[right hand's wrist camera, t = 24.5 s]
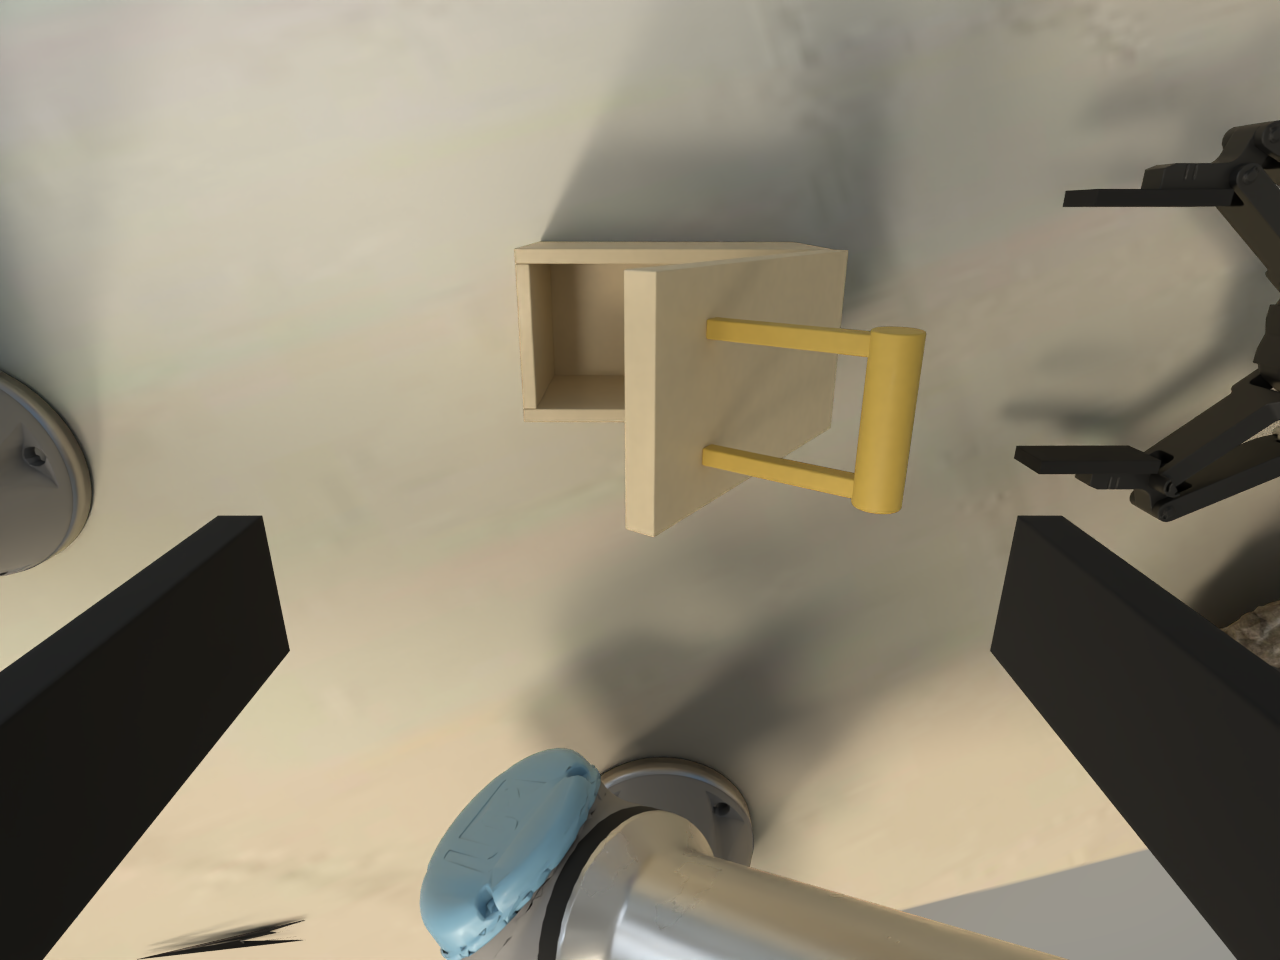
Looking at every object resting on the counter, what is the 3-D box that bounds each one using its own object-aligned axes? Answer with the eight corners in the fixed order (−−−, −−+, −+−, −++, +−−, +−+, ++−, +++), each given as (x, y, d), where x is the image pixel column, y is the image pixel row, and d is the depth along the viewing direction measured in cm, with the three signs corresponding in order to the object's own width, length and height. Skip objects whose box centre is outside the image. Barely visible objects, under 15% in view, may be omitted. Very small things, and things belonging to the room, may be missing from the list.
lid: (624, 529, 25) (858, 599, 21) (623, 269, 22) (897, 284, 18) (808, 424, 38) (978, 453, 34) (823, 249, 35) (1013, 255, 30)
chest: (545, 383, 47) (523, 422, 38) (539, 241, 44) (513, 248, 35) (784, 384, 47) (816, 422, 38) (794, 241, 44) (832, 249, 35)
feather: (48, 959, 68) (28, 969, 66) (315, 915, 65) (302, 925, 63) (49, 978, 68) (28, 990, 66) (317, 936, 64) (304, 946, 62)
